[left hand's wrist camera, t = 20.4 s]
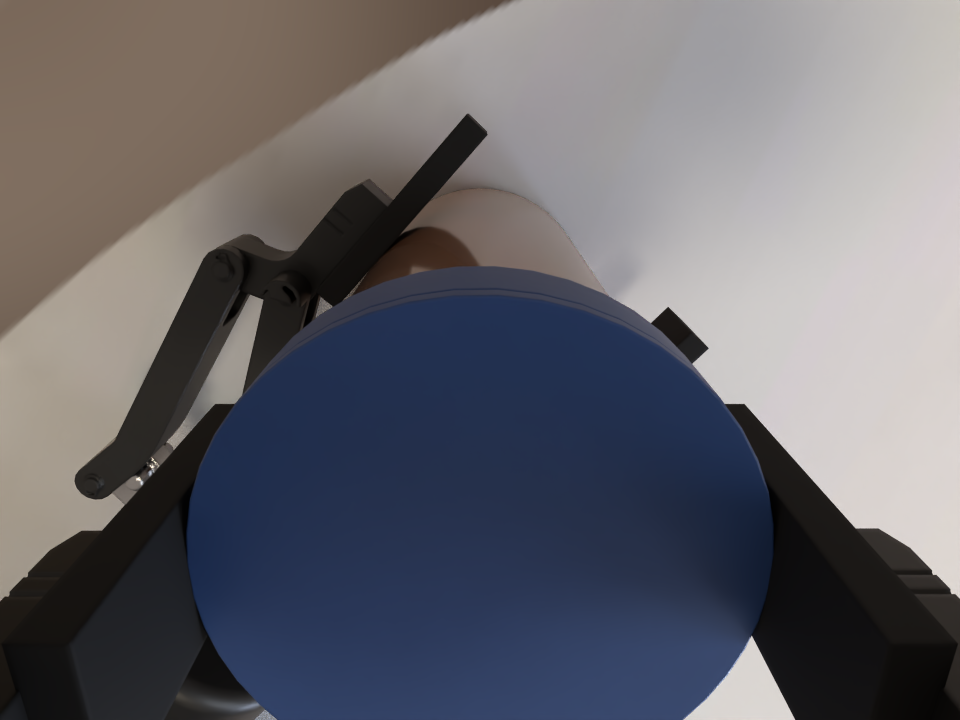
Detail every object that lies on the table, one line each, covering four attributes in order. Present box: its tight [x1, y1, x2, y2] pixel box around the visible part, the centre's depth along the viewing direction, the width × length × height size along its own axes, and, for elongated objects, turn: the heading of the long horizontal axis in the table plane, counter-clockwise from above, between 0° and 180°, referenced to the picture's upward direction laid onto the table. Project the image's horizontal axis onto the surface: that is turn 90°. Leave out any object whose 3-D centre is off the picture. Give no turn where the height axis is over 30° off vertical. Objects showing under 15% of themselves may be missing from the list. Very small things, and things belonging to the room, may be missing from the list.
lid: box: [186, 266, 774, 720], centre depth 12 cm, size 9×9×2 cm
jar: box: [352, 188, 609, 296], centre depth 19 cm, size 8×8×17 cm
